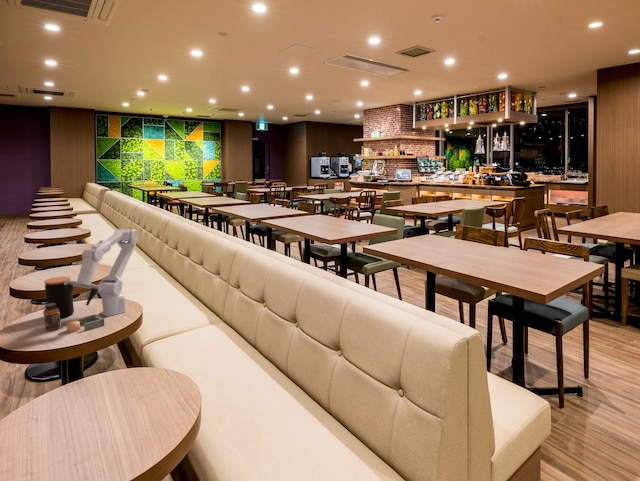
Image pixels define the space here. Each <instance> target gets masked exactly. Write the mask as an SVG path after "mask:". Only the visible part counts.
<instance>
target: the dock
mask: <svg viewBox="0 0 640 481" xmlns="http://www.w3.org/2000/svg"><path fill="white" fill-rule="evenodd" d="M75 321H79V322H80V326H83V328H84V331H89V330H94V329H98V328H100V327H103V326H105V319H104V318H103V317H101V316H98V315H97V314H91V315H87V316H84V317H83V316H82V317H80V318H76V320H75Z"/></svg>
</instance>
